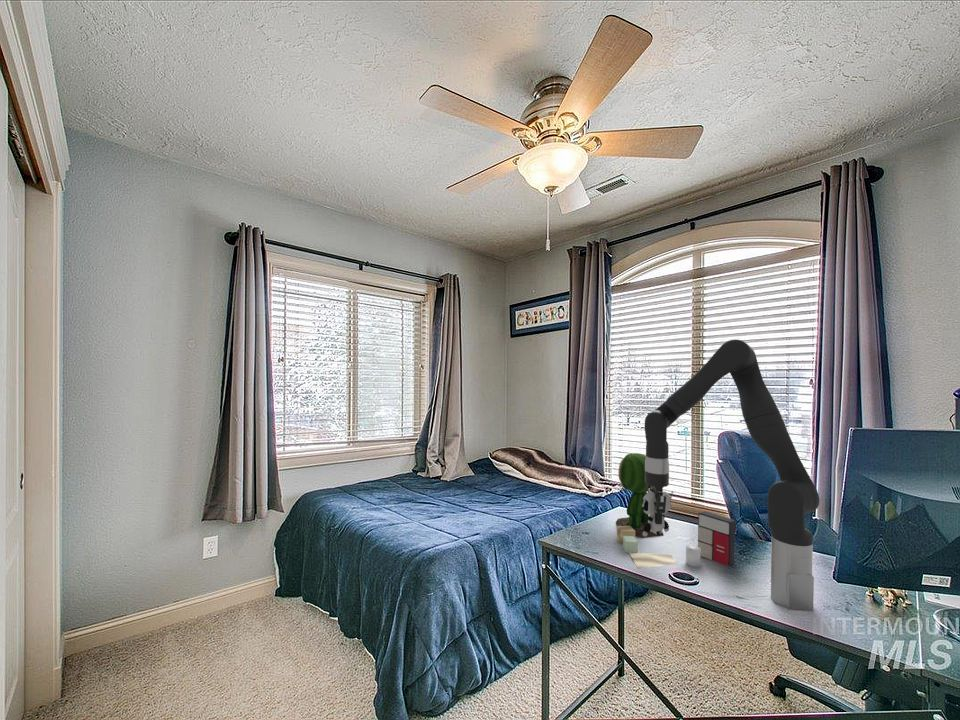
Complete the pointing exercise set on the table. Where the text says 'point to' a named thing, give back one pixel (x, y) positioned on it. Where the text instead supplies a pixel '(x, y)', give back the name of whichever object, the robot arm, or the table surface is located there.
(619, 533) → the oak cube
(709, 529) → the grey red panel box
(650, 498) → the robot toy
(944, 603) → the table surface
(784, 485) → the robot arm
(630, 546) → the sage brick
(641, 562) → the birch pad
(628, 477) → the figurine
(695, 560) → the white upright block
